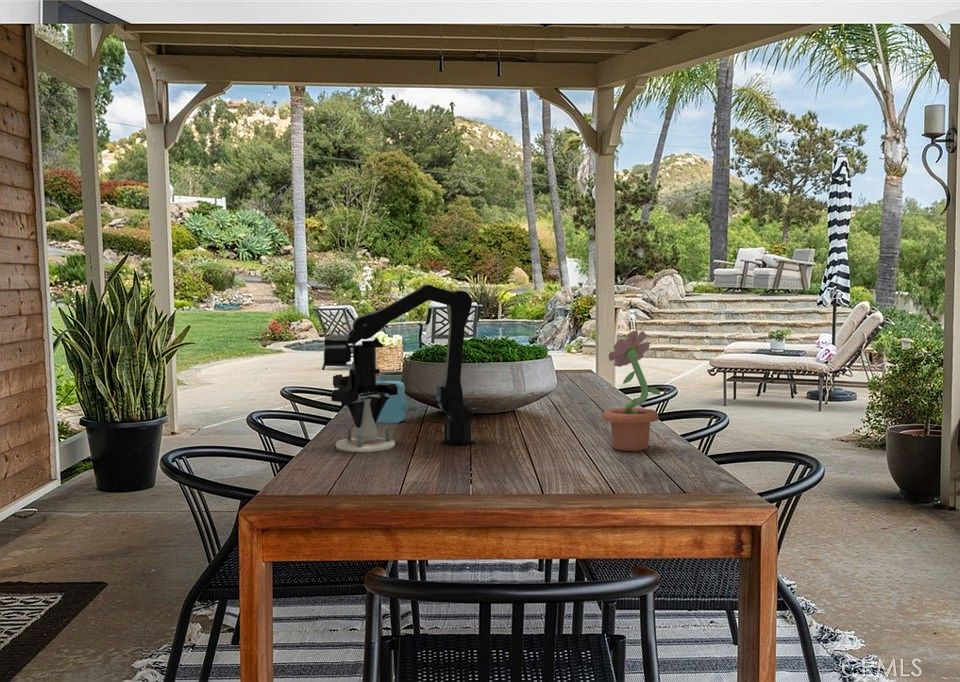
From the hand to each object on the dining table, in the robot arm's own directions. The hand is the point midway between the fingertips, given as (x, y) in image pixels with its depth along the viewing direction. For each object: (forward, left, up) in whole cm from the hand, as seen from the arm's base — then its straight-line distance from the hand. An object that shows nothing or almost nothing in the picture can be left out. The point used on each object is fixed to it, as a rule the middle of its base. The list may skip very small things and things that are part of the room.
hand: (365, 425), depth 233 cm
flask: (0, 0, -3) cm, 3 cm away
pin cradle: (0, 0, -5) cm, 5 cm away
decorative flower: (-56, -38, -6) cm, 68 cm away
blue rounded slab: (+22, -30, -6) cm, 38 cm away
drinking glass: (+34, -48, -6) cm, 59 cm away
